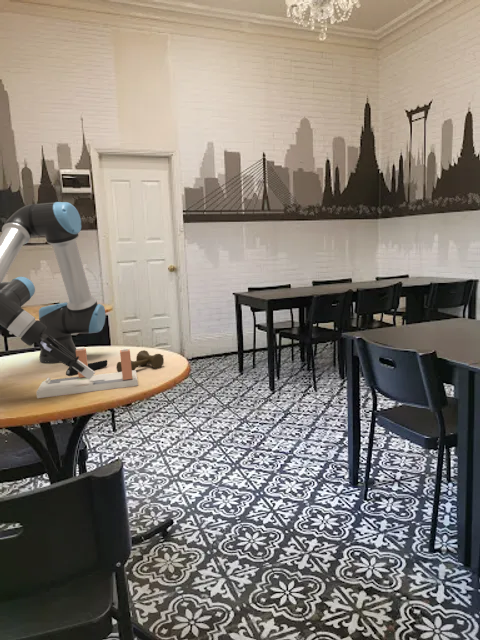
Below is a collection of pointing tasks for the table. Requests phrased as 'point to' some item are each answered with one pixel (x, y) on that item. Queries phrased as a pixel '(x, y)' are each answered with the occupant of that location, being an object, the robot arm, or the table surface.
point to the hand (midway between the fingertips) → (92, 375)
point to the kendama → (144, 361)
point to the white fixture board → (84, 384)
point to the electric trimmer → (91, 365)
